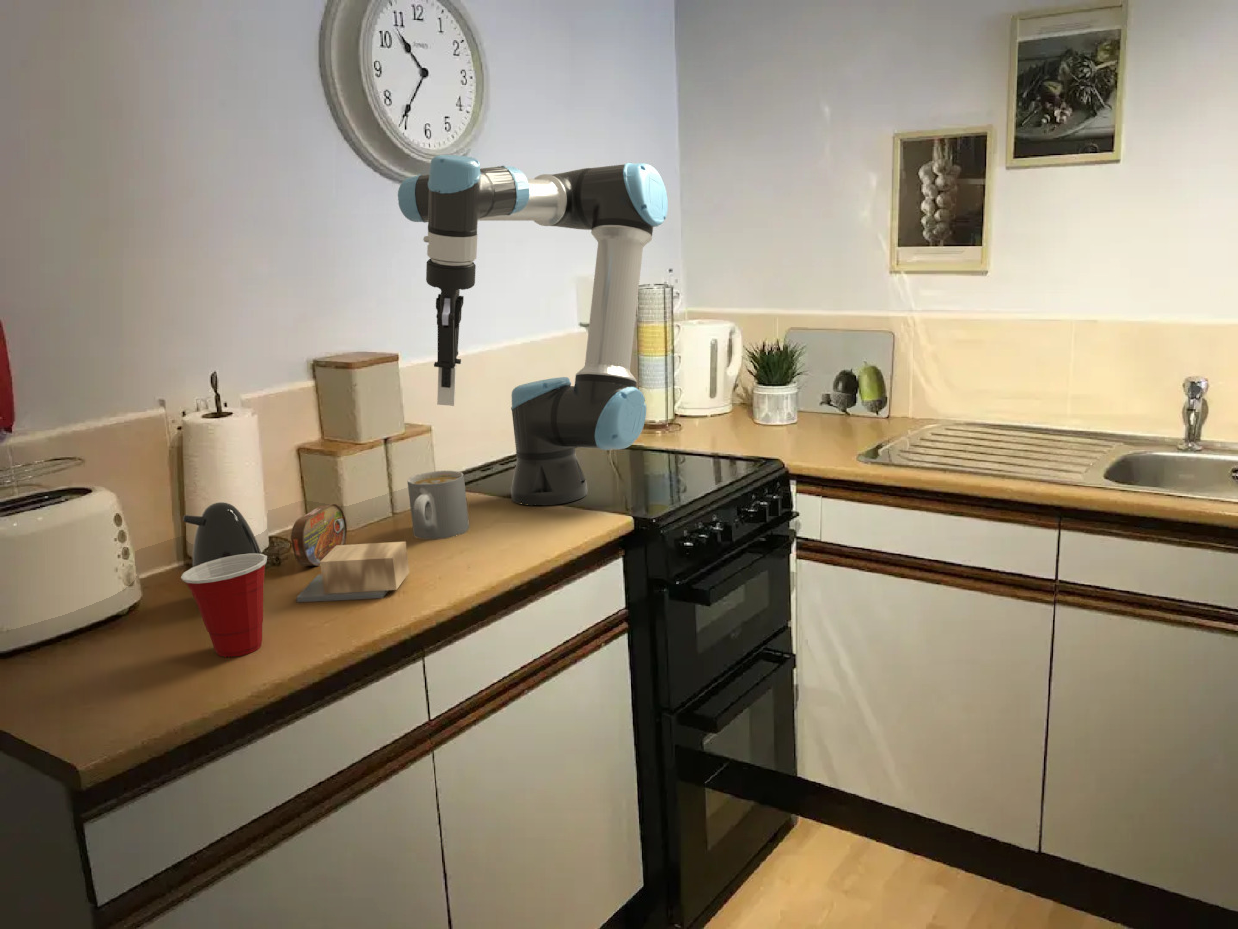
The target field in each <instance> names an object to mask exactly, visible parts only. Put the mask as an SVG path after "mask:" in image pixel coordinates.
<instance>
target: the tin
mask: <svg viewBox="0 0 1238 929" xmlns="http://www.w3.org/2000/svg"><path fill="white" fill-rule="evenodd" d="M347 528H348V526H347V520H346V516H345V514H344V510H343V509H342V508H341V507H340V505H338V504H336V503H330V504H324V505H323V504H322V505H319V506H317V507H315V508H314V509H312V510H311V511H309V512H307V513H306V514H304V515H303V516H301V517H300V518H298V519H296V521H295V522H294V524H293V525H292V529H291V532H290V541H291V545H292V551H293V554H294V558H295V561H296V562H298V564H300V565H301V566H304V567H313V566H315V567H319V566H320V561H321V560H322V559H323V558H324V557H325V556H326V555H327V554H328V553H329V552H330V551H331V550H332V549H333V548H334V547H335V546H336V545H346V542H347V535H348V529H347Z"/></svg>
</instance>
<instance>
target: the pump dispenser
mask: <svg viewBox="0 0 1238 929" xmlns="http://www.w3.org/2000/svg"><path fill="white" fill-rule="evenodd" d="M182 521H183V522H184V523H188V524H191V525H195V526H197V527H196V531H195V535H194V542H193V546H192V548H193V549H192V568H193V567H195V566H198V565H200V564H203V563H206V562H209V561H213V560H216V559H220V558H224V557H229V556H234V555H242V554H251V553H252V554H262V552H261V549H260V547H259V546H260V545H259V543H258V540H257V539H256V536H255V534H254V532H253V531H252V530H253V529H252V528H251V526H250V525H249V523H248V522H247V520H246V519H245V517H244V516H243V514H242V513H241V511H239V509H237V508H236V507H235V506H234V505H233V504H230V503H228V502H225V501H224V502H223V501H220V502H215V503H212V504H210V505H209V506H206V508H205V509H204V511H203V512H202V514H201V516H200V515H189V514H186V515H183V518H182ZM264 569H265V570H266V567H265V568H264Z"/></svg>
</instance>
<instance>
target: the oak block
mask: <svg viewBox="0 0 1238 929" xmlns="http://www.w3.org/2000/svg"><path fill="white" fill-rule="evenodd" d="M319 566H320V571H321V575H322V580H323V587H324V594H325V593H345V592H364V591H383V590H388V591H397V590H398V589H399V587H400V586H401V584H402V583H403V582H404V580H405V579H406V578H407V577H408V575H409V574H410V566H409V558H408V550H407V542H406V541H391V542H389V541H388V542H374V543H372V542H371V543H359V544H358V543H356V544H355V543H354V544H353V543H352V544H345V545H336V546H335V547H334V548H333V549H332V550H331V551H330V552H329V553H328V554H327V555H326V556H325V557H324V558H323V559H322V560H321V561H320V565H319Z"/></svg>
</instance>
